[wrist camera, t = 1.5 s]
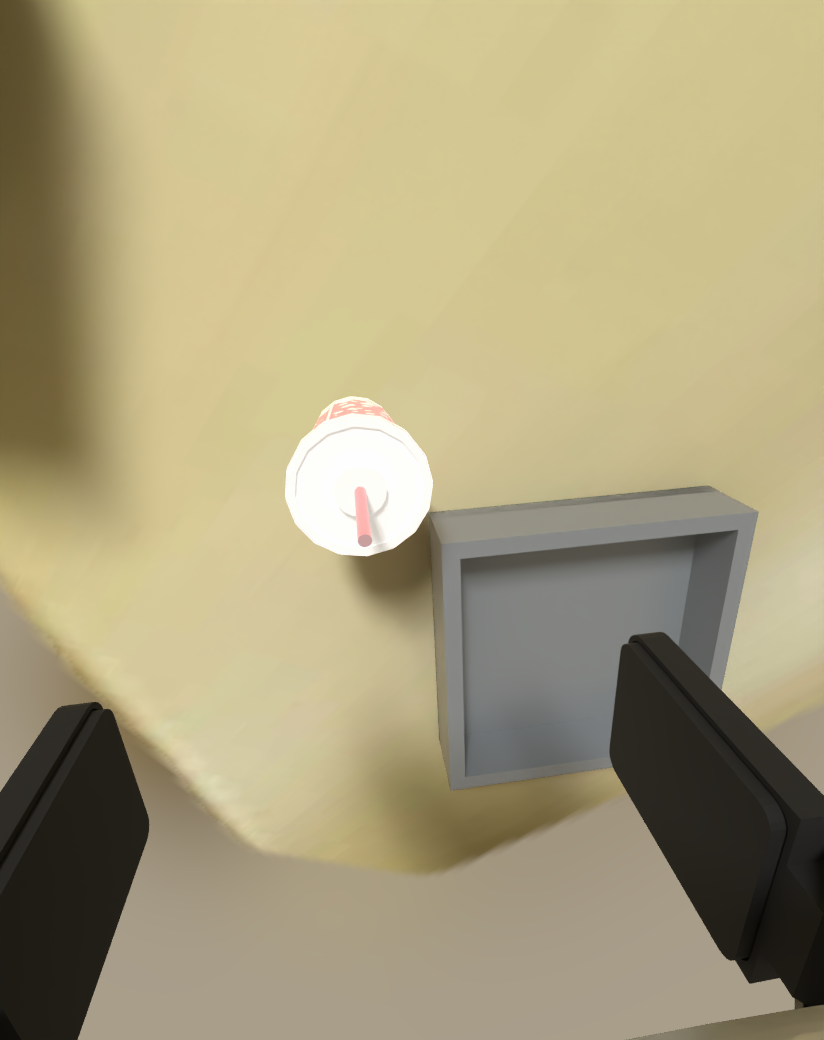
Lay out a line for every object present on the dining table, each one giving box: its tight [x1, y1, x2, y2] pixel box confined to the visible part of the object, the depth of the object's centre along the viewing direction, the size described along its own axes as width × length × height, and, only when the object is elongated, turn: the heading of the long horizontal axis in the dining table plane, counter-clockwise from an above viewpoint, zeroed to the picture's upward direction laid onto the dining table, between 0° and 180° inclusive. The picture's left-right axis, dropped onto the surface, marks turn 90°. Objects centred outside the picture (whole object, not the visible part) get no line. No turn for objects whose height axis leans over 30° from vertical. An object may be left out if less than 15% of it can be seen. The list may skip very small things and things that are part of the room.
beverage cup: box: [285, 396, 433, 556], centre depth 24 cm, size 6×6×14 cm
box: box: [429, 486, 758, 791], centre depth 35 cm, size 18×18×4 cm
